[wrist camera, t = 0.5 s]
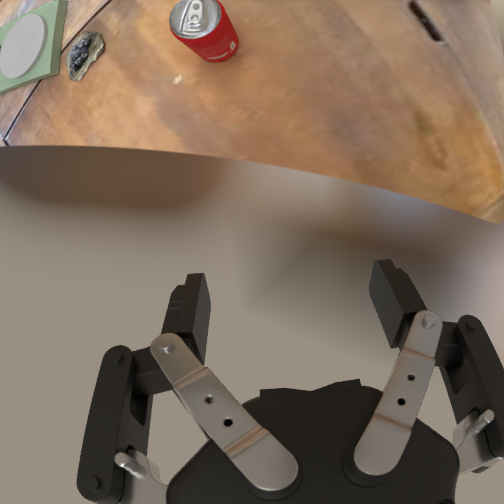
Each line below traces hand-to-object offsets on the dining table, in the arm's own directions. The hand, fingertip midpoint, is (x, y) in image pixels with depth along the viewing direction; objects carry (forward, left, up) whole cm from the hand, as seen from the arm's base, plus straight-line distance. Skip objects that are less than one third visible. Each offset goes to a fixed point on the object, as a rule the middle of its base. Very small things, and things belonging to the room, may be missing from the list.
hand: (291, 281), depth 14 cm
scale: (-23, -40, -26) cm, 53 cm away
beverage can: (-17, -8, -26) cm, 32 cm away
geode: (-18, -28, -26) cm, 42 cm away
